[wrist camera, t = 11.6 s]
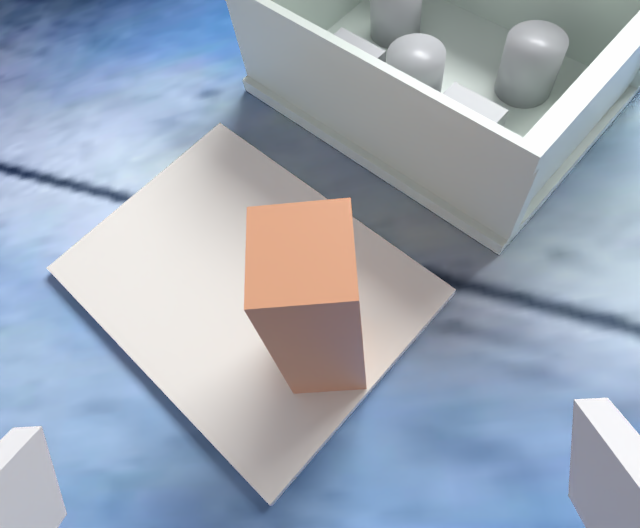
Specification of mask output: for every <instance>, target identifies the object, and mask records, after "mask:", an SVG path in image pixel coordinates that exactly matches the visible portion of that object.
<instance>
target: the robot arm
mask: <svg viewBox="0 0 640 528" xmlns="http://www.w3.org/2000/svg"><path fill="white" fill-rule="evenodd" d="M568 496H569V498H570V500H571V501H572V503H573V505H574V507H575V509H576V511H577V512H578V514H579V516H580V518H581V520H582V521H583V523H584V525H585V527H586V528H640V435H639V434H638V432H637V431H636V430H635V429H634V428H633V427H632V426H631V424H630V423H629V422H628V421H627V420H626V419H625V417H624V416H623V415H622V414H621V413H620V412H619V410H618V409H617V408H616V407H615V406H614V405H613V403H612V402H611V401H610V400H609V399H608V398H593V399H574V407H573V424H572V441H571V458H570V476H569V493H568ZM66 515H67V513H66V509H65V506H64V502H63V499H62V495H61V492H60V488H59V485H58V481H57V478H56V474H55V471H54V467H53V464H52V460H51V457H50V453H49V450H48V446H47V443H46V439H45V436H44V432H43V429H42V426H35V427H15V428H12V429H11V430H10V431H9V432H8V433H7V434H6V435H5V436H4V437H3V438H2V439H1V440H0V528H58V527H59V525H60V524H61V522H62V521H63V519H64V518H65V516H66Z"/></svg>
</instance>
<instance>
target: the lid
mask: <svg viewBox="0 0 640 528" xmlns="http://www.w3.org/2000/svg"><path fill="white" fill-rule="evenodd" d="M47 269H48V270H49V271H50V272H51V273H52V274H53V275H54V277H55V278H56V279H57V280H58V281H59V282H60V283H61V284H62V285H63V286H64V287H65V288H66V289H67V290H68V291H69V292H70V294H71V295H72V296H73V297H74V298H75V299H76V300H77V301H78V302H79V303H80V304H81V305H82V306H83V307H84V308H85V309H86V311H87V312H88V313H89V314H90V315H91V316H92V317H93V318H94V319H95V320H96V321H97V322H98V323H99V324H100V325H101V326H102V328H103V329H104V330H105V331H106V332H107V333H108V334H109V335H110V336H111V337H112V338H113V339H114V340H115V341H116V342H117V343H118V345H119V346H120V347H121V348H122V349H123V350H124V351H125V352H126V353H127V354H128V355H129V356H130V357H131V358H132V359H133V361H134V362H135V363H136V364H137V365H138V366H139V367H140V368H141V369H142V370H143V371H144V372H145V373H146V374H147V375H148V376H149V378H150V379H151V380H152V381H153V382H154V383H155V384H156V385H157V386H158V387H159V388H160V389H161V390H162V391H163V392H164V393H165V395H166V396H167V397H168V398H169V399H170V400H171V401H172V402H173V403H174V404H175V405H176V406H177V407H178V408H179V409H180V410H181V412H182V413H183V414H184V415H185V416H186V417H187V418H188V419H189V420H190V421H191V422H192V423H193V424H194V425H195V426H196V427H197V429H198V430H199V431H200V432H201V433H202V434H203V435H204V436H205V437H206V438H207V439H208V440H209V441H210V442H211V443H212V444H213V446H214V447H215V448H216V449H217V450H218V451H219V452H220V453H221V454H222V455H223V456H224V457H225V458H226V459H227V460H228V461H229V463H230V464H231V465H232V466H233V467H234V468H235V469H236V470H237V471H238V472H239V473H240V474H241V475H242V476H243V477H244V479H245V480H246V481H247V482H248V483H249V484H250V485H251V486H252V487H253V488H254V489H255V490H256V491H257V492H258V493H259V494H260V496H261V497H262V498H263V499H264V500H265V501H266V502H267V503H268V504H269V505H270V506H272V505H273V504H274V503H275V502H276V501H277V500H278V498H279V497H280V496H281V495H282V494H283V493H284V492H285V490H286V489H287V488H288V487H289V486H290V485H291V483H292V482H293V481H294V480H295V479H296V478H297V476H298V475H299V474H300V473H301V472H302V471H303V470H304V468H305V467H306V466H307V465H308V464H309V463H310V461H311V460H312V459H313V458H314V457H315V456H316V454H317V453H318V452H319V451H320V450H321V449H322V447H323V446H324V445H325V444H326V443H327V442H328V441H329V439H330V438H331V437H332V436H333V435H334V434H335V432H336V431H337V430H338V429H339V428H340V427H341V425H342V424H343V423H344V422H345V421H346V420H347V418H348V417H349V416H350V415H351V414H352V413H353V412H354V410H355V409H356V408H357V407H358V406H359V405H360V403H361V402H362V401H363V400H364V399H365V398H366V396H367V395H368V394H369V393H370V392H371V391H372V390H373V388H374V387H375V386H376V385H377V384H378V383H379V381H380V380H381V379H382V378H383V377H384V376H385V374H386V373H387V372H388V371H389V370H390V369H391V367H392V366H393V365H394V364H395V363H396V362H397V361H398V359H399V358H400V357H401V356H402V355H403V354H404V352H405V351H406V350H407V349H408V348H409V347H410V345H411V344H412V343H413V342H414V341H415V340H416V338H417V337H418V336H419V335H420V334H421V333H422V332H423V330H424V329H425V328H426V327H427V326H428V325H429V323H430V322H431V321H432V320H433V319H434V318H435V316H436V315H437V314H438V313H439V312H440V311H441V310H442V308H443V307H444V306H445V305H446V304H447V303H448V301H449V300H450V299H451V298H452V297H453V296H454V294H455V292H456V289H454V288H453V287H452V286H450V285H449V284H447V283H446V282H445V281H443V280H442V279H440V278H439V277H437V276H436V275H435V274H433V273H432V272H430V271H429V270H428V269H426V268H425V267H423V266H422V265H421V264H419V263H418V262H416V261H415V260H413V259H412V258H411V257H409V256H408V255H406V254H405V253H404V252H402V251H401V250H399V249H398V248H396V247H395V246H394V245H392V244H391V243H389V242H388V241H387V240H385V239H384V238H382V237H381V236H380V235H378V234H377V233H375V232H374V231H372V230H371V229H370V228H368V227H367V226H365V225H364V224H363V223H361V222H360V221H358V220H357V219H355V218H354V217H353V216H352V206H351V197H350V198H339V199H327V198H326V197H324V196H323V195H322V194H320V193H319V192H317V191H316V190H314V189H313V188H312V187H310V186H309V185H307V184H306V183H305V182H303V181H302V180H300V179H299V178H297V177H296V176H295V175H293V174H292V173H290V172H289V171H288V170H286V169H285V168H283V167H282V166H280V165H279V164H278V163H276V162H275V161H273V160H272V159H271V158H269V157H268V156H266V155H265V154H264V153H262V152H261V151H259V150H258V149H256V148H255V147H254V146H252V145H251V144H249V143H248V142H247V141H245V140H244V139H242V138H241V137H239V136H238V135H237V134H235V133H234V132H232V131H231V130H230V129H228V128H227V127H225V126H224V125H223V124H221V123H219V124H218V125H217V126H215V127H214V128H213V129H212V130H211V131H209V132H208V133H207V134H206V135H205V136H203V137H202V138H201V139H200V140H199V141H197V142H196V143H195V144H194V145H193V146H192V147H190V148H189V149H188V150H187V151H186V152H184V153H183V154H182V155H181V156H180V157H178V158H177V159H176V160H175V161H174V162H172V163H171V164H170V165H169V166H168V167H166V168H165V169H164V170H163V171H162V172H160V173H159V174H158V175H157V176H156V177H154V178H153V179H152V180H151V181H150V182H149V183H147V184H146V185H145V186H144V187H143V188H141V189H140V190H139V191H138V192H137V193H135V194H134V195H133V196H132V197H131V198H129V199H128V200H127V201H126V202H125V203H123V204H122V205H121V206H120V207H119V208H117V209H116V210H115V211H114V212H113V213H112V214H110V215H109V216H108V217H107V218H106V219H104V220H103V221H102V222H101V223H100V224H98V225H97V226H96V227H95V228H94V229H92V230H91V231H90V232H89V233H88V234H86V235H85V236H84V237H83V238H82V239H80V240H79V241H78V242H77V243H76V244H74V245H73V246H72V247H71V248H70V249H69V250H67V251H66V252H65V253H64V254H63V255H61V256H60V257H59V258H58V259H57V260H55V261H54V262H53V263H52V264H51V265H49V266H48V267H47Z"/></svg>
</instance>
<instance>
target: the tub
mask: <svg viewBox="0 0 640 528" xmlns="http://www.w3.org/2000/svg"><path fill="white" fill-rule="evenodd" d="M225 1H226V2H227V6H228V9H229V13H230V16H231V20H232V23H233V27H234V30H235V34H236V37H237V41H238V44H239V48H240V51H241V55H242V58H243V62H244V65H245V69H246V72H247V76H246V77H245V78H244V79H243V84H244V87H245V90H246V91H247V92H249V93H250V94H252V95H254V96H255V97H257V98H258V99H260V100H261V101H263V102H264V103H266V104H267V105H269V106H270V107H272V108H273V109H275V110H277V111H278V112H280V113H281V114H283V115H284V116H286V117H287V118H289V119H290V120H292V121H293V122H295V123H297V124H298V125H300V126H301V127H303V128H304V129H306V130H307V131H309V132H310V133H312V134H313V135H315V136H316V137H318V138H320V139H321V140H323V141H324V142H326V143H327V144H329V145H330V146H332V147H333V148H335V149H336V150H338V151H340V152H341V153H343V154H344V155H346V156H347V157H349V158H350V159H352V160H353V161H355V162H356V163H358V164H359V165H361V166H363V167H364V168H366V169H367V170H369V171H370V172H372V173H373V174H375V175H376V176H378V177H379V178H381V179H383V180H384V181H386V182H387V183H389V184H390V185H392V186H393V187H395V188H396V189H398V190H399V191H401V192H403V193H404V194H406V195H407V196H409V197H410V198H412V199H413V200H415V201H416V202H418V203H419V204H421V205H422V206H424V207H426V208H427V209H429V210H430V211H432V212H433V213H435V214H436V215H438V216H439V217H441V218H442V219H444V220H446V221H447V222H449V223H450V224H452V225H453V226H455V227H456V228H458V229H459V230H461V231H462V232H464V233H465V234H467V235H469V236H470V237H472V238H473V239H475V240H476V241H478V242H479V243H481V244H482V245H484V246H485V247H487V248H489V249H490V250H492V251H493V252H495V253H496V254H498V255H500V254H501V253H502V252H503V250H504V249H505V248H506V247H507V246H508V245H509V243H510V242H511V241H512V240H513V239H514V237H515V236H516V235H517V234H518V233H519V232H520V230H521V229H522V228H523V227H524V226H525V225H526V223H527V222H528V221H529V220H530V219H531V217H532V216H533V215H534V214H535V213H536V212H537V210H538V209H539V208H540V207H541V206H542V205H543V203H544V202H545V201H546V200H547V199H548V197H549V196H550V195H551V194H552V193H553V192H554V190H555V189H556V188H557V187H558V186H559V185H560V183H561V182H562V181H563V180H564V179H565V177H566V176H567V175H568V174H569V173H570V172H571V170H572V169H573V168H574V167H575V166H576V165H577V163H578V162H579V161H580V160H581V159H582V157H583V156H584V155H585V154H586V153H587V152H588V150H589V149H590V148H591V147H592V146H593V145H594V143H595V142H596V141H597V140H598V139H599V137H600V136H601V135H602V134H603V133H604V132H605V130H606V129H607V128H608V127H609V126H610V125H611V123H612V122H613V121H614V120H615V119H616V118H617V116H618V115H619V114H620V113H621V112H622V110H623V109H624V108H625V107H626V106H627V105H628V103H629V102H630V101H631V100H632V99H633V98H634V96H635V95H636V94H637V93H638V92H639V90H640V0H225Z"/></svg>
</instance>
